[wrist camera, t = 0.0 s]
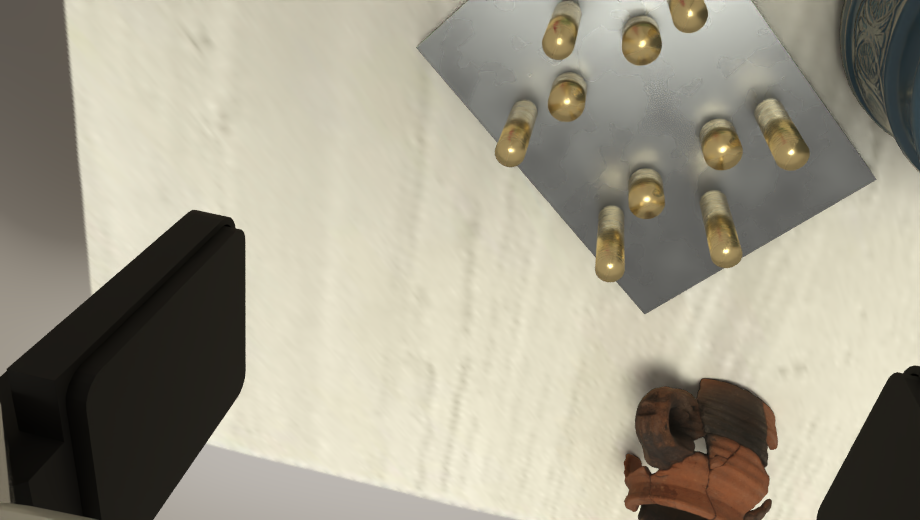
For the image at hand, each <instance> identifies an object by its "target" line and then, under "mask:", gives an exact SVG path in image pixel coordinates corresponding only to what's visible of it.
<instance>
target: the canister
mask: <svg viewBox="0 0 920 520" xmlns="http://www.w3.org/2000/svg"><path fill="white" fill-rule="evenodd" d="M840 42H841V56H842V62H843V67H844V71H845V74H846V77H847V80H848V83H849V85H850V88H851V90H852V92H853V94H854V95H855V97H856V99H857V100H858V102H859V104H860V105H861V106H862V108H863V109H864V110H865V111H866V112H867V114H868V115H869V116H870V117H871V118H872V120H873V121H874V122H875V123H876V124H877V125H878V126H879V127H881V128H882V129H883V130H884V131H885V132H887V133H888V134H889V135H891V136H892V137H894V138H895V140H896V142H897V144H898V145H899V147H900V149H901V150H902V152H903V154H904V155H905V156H906V158H907V159H908V160H909V162H910V163H911V164H912V165H913V166H914V167H915V168H916V170H917V171H918V172H920V0H844V4H843V9H842V15H841V24H840Z"/></svg>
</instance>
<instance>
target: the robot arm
mask: <svg viewBox="0 0 920 520" xmlns="http://www.w3.org/2000/svg"><path fill="white" fill-rule="evenodd" d="M245 371H246V364H245V235H244V232H243V231H242V230H240V229H236V228H235V224H234V221H233V220H232V219H231V218H230V217H226V216H221V215H217V214H212V213H207V212H203V211H198V210H192V211H190V212H188V213H187V214H186V215H185V216H183V217H182V218H181V219H180V220H179V221H178V222H177V223H175V224H174V225H173V226H172V227H171V228H170V229H168V230H167V231H166V232H165V233H164V234H163V235H161V236H160V237H159V238H158V239H157V240H156V241H155V242H153V243H152V244H151V245H150V246H149V247H148V248H146V249H145V250H144V251H143V252H142V253H141V254H139V255H138V256H137V257H136V258H135V259H134V260H132V261H131V262H130V263H129V264H128V265H127V266H126V267H124V268H123V269H122V270H121V271H120V272H119V273H117V274H116V275H115V276H114V277H113V278H112V279H110V280H109V281H108V282H107V283H106V284H105V285H104V286H102V287H101V288H100V289H99V290H98V291H97V292H95V293H94V294H93V295H92V296H91V297H90V298H89V299H87V300H86V301H85V302H84V303H83V304H82V305H80V306H79V307H78V308H77V309H76V310H75V311H74V312H72V313H71V314H70V315H69V316H68V317H66V318H65V319H64V320H63V321H62V322H61V323H59V324H58V325H57V326H56V327H55V328H54V329H53V330H51V331H50V332H49V333H48V334H47V335H46V336H44V337H43V338H42V339H41V340H40V341H39V342H37V343H36V344H35V345H34V346H33V347H32V348H31V349H29V350H28V351H27V352H26V353H25V354H24V355H22V356H21V357H20V358H19V359H18V360H17V361H15V362H14V363H13V364H12V365H11V366H10V367H8V368H7V371H6V372H5V373H4V374H3V375H2V376H1V377H0V520H153V519H154V518H155V516H156V515H157V513H158V512H159V511H160V509H161V508H162V506H163V504H164V503H165V502H166V500H167V499H168V497H169V496H170V495H171V493H172V492H173V490H174V489H175V487H176V486H177V484H178V483H179V481H180V480H181V479H182V477H183V476H184V474H185V473H186V471H187V470H188V468H189V467H190V465H191V464H192V462H193V461H194V460H195V458H196V457H197V455H198V454H199V452H200V451H201V449H202V448H203V447H204V445H205V444H206V442H207V441H208V439H209V438H210V436H211V435H212V434H213V432H214V431H215V429H216V428H217V426H218V425H219V423H220V422H221V420H222V419H223V418H224V416H225V415H226V413H227V412H228V410H229V409H230V407H231V406H232V404H233V403H234V402H235V400H236V399H237V397H238V395H239V394H240V392H241V389H242V387H243V383H244V379H245ZM817 520H920V366H911V367H909V368H908V369H907V370H905V371H904V373H898V372H897V373H894V374H892V375H891V376H890V377H889V379H888V380H887V382H886V384H885V386H884V388H883V389H882V391H881V393H880V395H879V397H878V399H877V401H876V403H875V404H874V406H873V408H872V410H871V412H870V414H869V416H868V418H867V419H866V421H865V423H864V425H863V427H862V429H861V431H860V433H859V434H858V436H857V438H856V440H855V442H854V444H853V446H852V447H851V449H850V451H849V453H848V455H847V457H846V459H845V461H844V462H843V464H842V466H841V468H840V470H839V472H838V474H837V476H836V477H835V479H834V481H833V483H832V485H831V487H830V489H829V491H828V492H827V494H826V496H825V498H824V500H823V502H822V504H821V505H820V508H819V510H818V514H817Z"/></svg>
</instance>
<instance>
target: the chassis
mask: <svg viewBox="0 0 920 520" xmlns="http://www.w3.org/2000/svg"><path fill="white" fill-rule="evenodd" d="M416 48H417V49H418V50H419V52H420V53H421V54H422V55H423V56H424V57H425V59H426V60H427V61H428V62H429V63H430V64H431V66H432V67H433V68H434V69H435V70H436V71H437V73H438V74H439V75H440V76H441V77H442V78H443V80H444V81H445V82H446V83H447V84H448V85H449V87H450V88H451V89H452V90H453V91H454V92H455V94H456V95H457V96H458V97H459V98H460V99H461V101H462V102H463V103H464V104H465V105H466V106H467V108H468V109H469V110H470V111H471V112H472V113H473V115H474V116H475V117H476V118H477V119H478V120H479V122H480V123H481V124H482V125H483V126H484V127H485V129H486V130H487V131H488V132H489V133H490V134H491V136H492V137H493V138H494V139H495V140H496V141H497V146H496V148H495V156H496V159H497V160H498V162H499V163H501V164H502V165H504V166H506V167H515V166H518V167H519V168H520V169H521V171H522V172H523V173H524V174H525V175H526V176H527V178H528V179H529V180H530V181H531V182H532V183H533V185H534V186H535V187H536V188H537V189H538V191H539V192H540V193H541V194H542V195H543V196H544V198H545V199H546V200H547V201H548V202H549V203H550V205H551V206H552V207H553V208H554V209H555V210H556V212H557V213H558V214H559V215H560V216H561V217H562V219H563V220H564V221H565V222H566V223H567V224H568V226H569V227H570V228H571V229H572V230H573V231H574V233H575V234H576V235H577V236H578V237H579V238H580V240H581V241H582V242H583V243H584V244H585V245H586V247H587V248H588V249H589V250H590V251H591V252H592V254H593V255H594V256H595V257H596V265H595V272H596V275H597V276H598V277H599V278H600V279H601V280H603V281H605V282H615V281H616V282H617V283H618V284H619V285H620V286H621V287H622V289H623V290H624V291H625V292H626V293H627V294H628V296H629V297H630V298H631V299H632V300H633V301H634V303H635V304H636V305H637V306H638V307H639V308H640V310H641V311H642V312H643V313H644V314H646V313H648V312H649V311H651V310H653V309H655V308H656V307H658V306H660V305H662V304H663V303H665V302H667V301H668V300H670V299H672V298H674V297H675V296H677V295H679V294H680V293H682V292H684V291H686V290H687V289H689V288H691V287H692V286H694V285H696V284H698V283H699V282H701V281H703V280H705V279H706V278H708V277H710V276H711V275H713V274H715V273H717V272H718V271H720V270H722V269H723V268H730V267H733V266H735V265H737V264H738V263H739V262H740V260H741V258H742V257H744V256H746V255H748V254H749V253H751V252H753V251H754V250H756V249H758V248H760V247H761V246H763V245H765V244H766V243H768V242H770V241H772V240H773V239H775V238H777V237H779V236H780V235H782V234H784V233H785V232H787V231H789V230H791V229H792V228H794V227H796V226H797V225H799V224H801V223H803V222H804V221H806V220H808V219H809V218H811V217H813V216H815V215H816V214H818V213H820V212H822V211H823V210H825V209H827V208H828V207H830V206H832V205H834V204H835V203H837V202H839V201H840V200H842V199H844V198H846V197H847V196H849V195H851V194H853V193H854V192H856V191H858V190H859V189H861V188H863V187H865V186H866V185H868V184H870V183H871V182H873V181H875V180H877V179H876V178H875V177H874V175H873V174H872V172H871V171H870V169H869V168H868V167H867V165H866V164H865V162H864V161H863V159H862V158H861V157H860V155H859V154H858V152H857V151H856V149H855V148H854V147H853V145H852V144H851V142H850V141H849V139H848V138H847V137H846V135H845V134H844V132H843V131H842V129H841V128H840V127H839V125H838V124H837V122H836V121H835V120H834V118H833V117H832V115H831V114H830V112H829V111H828V110H827V108H826V107H825V105H824V104H823V102H822V101H821V100H820V98H819V97H818V95H817V94H816V92H815V91H814V90H813V88H812V87H811V85H810V84H809V82H808V81H807V80H806V78H805V77H804V75H803V74H802V72H801V71H800V70H799V68H798V67H797V65H796V64H795V62H794V61H793V60H792V58H791V57H790V55H789V54H788V52H787V51H786V50H785V48H784V47H783V45H782V44H781V43H780V41H779V40H778V38H777V37H776V35H775V34H774V33H773V31H772V30H771V28H770V27H769V25H768V24H767V23H766V21H765V20H764V18H763V17H762V15H761V14H760V13H759V11H758V10H757V8H756V7H755V5H754V4H753V3H752V1H751V0H468V1H467V2H466V3H464V4H463V5H462V6H461V7H460V8H459V9H458V10H457V11H456V12H454V13H453V14H452V15H451V16H450V17H449V18H448V19H447V20H446V21H445V22H443V23H442V24H441V25H440V26H439V27H438V28H437V29H436V30H435V31H433V32H432V33H431V34H430V35H429V36H428V37H427V38H426V39H425V40H423V41H422V42H421V43H420V44H419V45H418V46H417V47H416Z"/></svg>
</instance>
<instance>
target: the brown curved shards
mask: <svg viewBox="0 0 920 520" xmlns="http://www.w3.org/2000/svg"><path fill="white" fill-rule="evenodd" d="M635 429H636V434H637V437H638V439H639V442H640V443H641V444H642V447H643V452H644V457H645V460H646V462H647V463H648V464H649V465H650V466H652V467H654V468H658V469H659V470H658V471H657V472H656V473H654V474H651V472H650V471H649V469H648V467H647V466H642V463H641V461H640V459H639V458H638V457H635V456H634V455H631V454H627V455H626V459H625V461H624V466H625V471H624V474H625V484H626V486H627V487H628V488H629V493H628V495H627V496H626V498H625V500H624V502H625V506H626V508H627V509H629V510H632V511H633V512H635V511H637V510H638V507H639V505H641V508H640V512H639V514H638V519H639V520H761V519H762V518H763V517H764V516H765V514H766V513H767V512H768V511H769V510H770V508H771V504H772V501H771V499H767V500H765V501H764V503H763V504H762V505H761V506H760V507H758V508H756V509H755V510H751V509H753V508H754V507H755V505H756V504H758V503H759V502H760V501H761V500H762V499H763V497H764V496H765V495H766V494H767V493H768V486H769V481H770V479H769V476H768V474H767V472H766V470H765V467H766V466H767V460H768V453H767V448H768V447H769V449H770V450H774V449H776V448H777V445H778V438H777V431H776V427H775V416H774V413H773V412H772V410H771V409H770V408H769V407H768V406H767V405H766V404H765V403H764V402H762V400H760V399H759V398H758V397H756V396H754V395H753V394H751V393H750V392H749V391H747V390H743V389H741V388H739V387H738V386H736V385H732V384H730V383H727V382H721V381H718V380H712V379H705V378H704V379H702V380H701V382H700V390H699V391H698V395H697V397H696V399H695V397H694V396H693V395H692V394H690V393H689V392H688V391H686V390H682V389H677V388H676V389H674V388H670V387H667V386H664V387H660V388H655V389H653V390H651V391H650V392H648V393H647V394H646V395H645V396H644V397H643V398H642V400H641V401H640V403H639V405H638V408H637V412H636V417H635ZM701 437H704V438H705V441H706V448H707V454H704V453H702V452H698V451H694V449H695V444H694V440H697V439H698V438H701ZM750 510H751V511H750Z"/></svg>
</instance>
